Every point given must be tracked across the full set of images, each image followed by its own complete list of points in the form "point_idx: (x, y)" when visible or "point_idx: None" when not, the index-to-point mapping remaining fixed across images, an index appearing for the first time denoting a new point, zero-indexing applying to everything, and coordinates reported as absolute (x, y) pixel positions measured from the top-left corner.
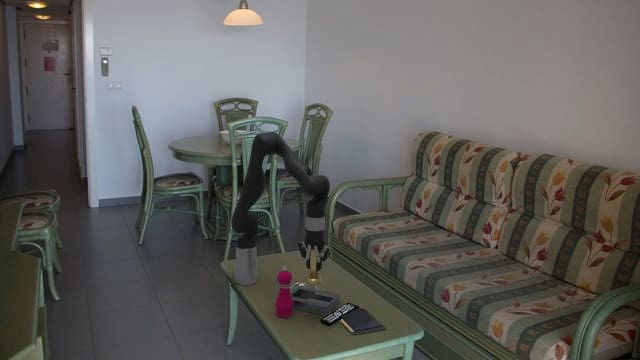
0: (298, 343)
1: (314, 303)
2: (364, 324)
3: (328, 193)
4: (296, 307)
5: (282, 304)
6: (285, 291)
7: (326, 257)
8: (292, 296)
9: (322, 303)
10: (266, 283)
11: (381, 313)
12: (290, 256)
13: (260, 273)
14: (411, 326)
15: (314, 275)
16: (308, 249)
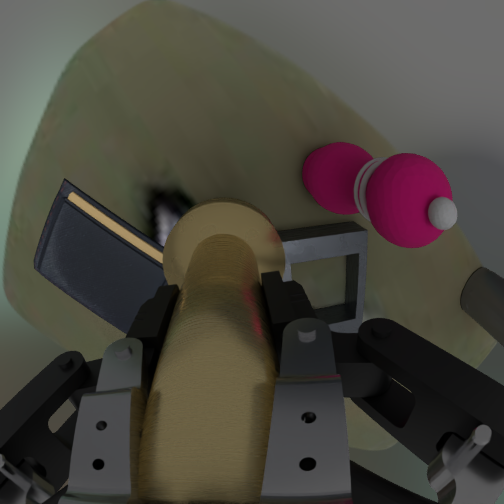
0: (171, 36)
1: None
2: (64, 247)
3: None
4: (313, 229)
5: (337, 145)
6: (358, 167)
7: (76, 417)
8: (355, 270)
9: None
10: (441, 311)
11: (92, 336)
12: None
13: (458, 338)
14: (19, 308)
15: (197, 252)
16: (322, 475)
